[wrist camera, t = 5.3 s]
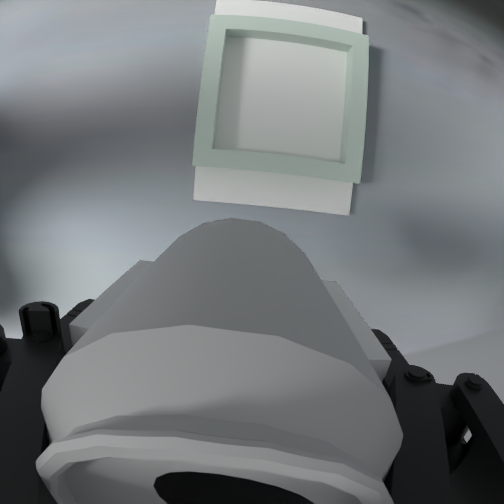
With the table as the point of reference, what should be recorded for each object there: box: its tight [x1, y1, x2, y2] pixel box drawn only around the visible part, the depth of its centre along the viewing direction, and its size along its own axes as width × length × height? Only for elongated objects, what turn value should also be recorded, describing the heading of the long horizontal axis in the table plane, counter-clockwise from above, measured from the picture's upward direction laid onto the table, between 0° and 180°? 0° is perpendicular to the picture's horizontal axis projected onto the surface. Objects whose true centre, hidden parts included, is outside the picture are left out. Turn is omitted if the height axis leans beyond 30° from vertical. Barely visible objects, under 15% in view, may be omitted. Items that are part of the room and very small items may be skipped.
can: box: [36, 218, 403, 504], centre depth 9 cm, size 8×8×12 cm
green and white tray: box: [192, 0, 369, 216], centre depth 25 cm, size 14×20×2 cm
